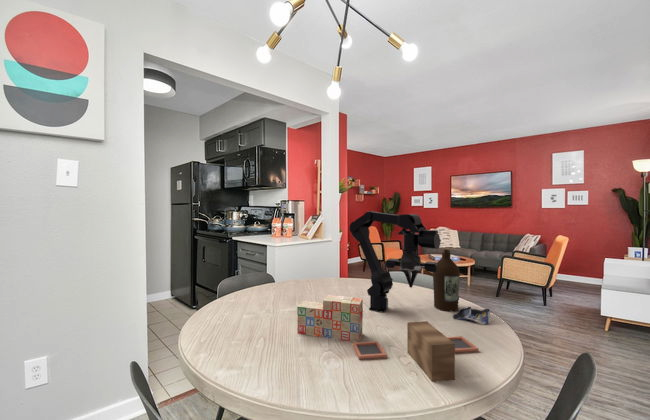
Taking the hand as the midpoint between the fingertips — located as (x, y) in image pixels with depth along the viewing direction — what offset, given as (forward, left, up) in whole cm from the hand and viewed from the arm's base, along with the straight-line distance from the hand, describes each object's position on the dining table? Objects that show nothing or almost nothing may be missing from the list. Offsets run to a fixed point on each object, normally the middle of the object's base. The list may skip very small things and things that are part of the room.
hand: (410, 287), depth 108 cm
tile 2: (+17, -16, -12) cm, 26 cm away
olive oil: (+11, +19, -12) cm, 25 cm away
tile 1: (-6, -32, -12) cm, 35 cm away
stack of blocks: (-22, -26, -12) cm, 36 cm away
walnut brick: (+11, -31, -12) cm, 35 cm away
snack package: (+20, +10, -13) cm, 26 cm away
